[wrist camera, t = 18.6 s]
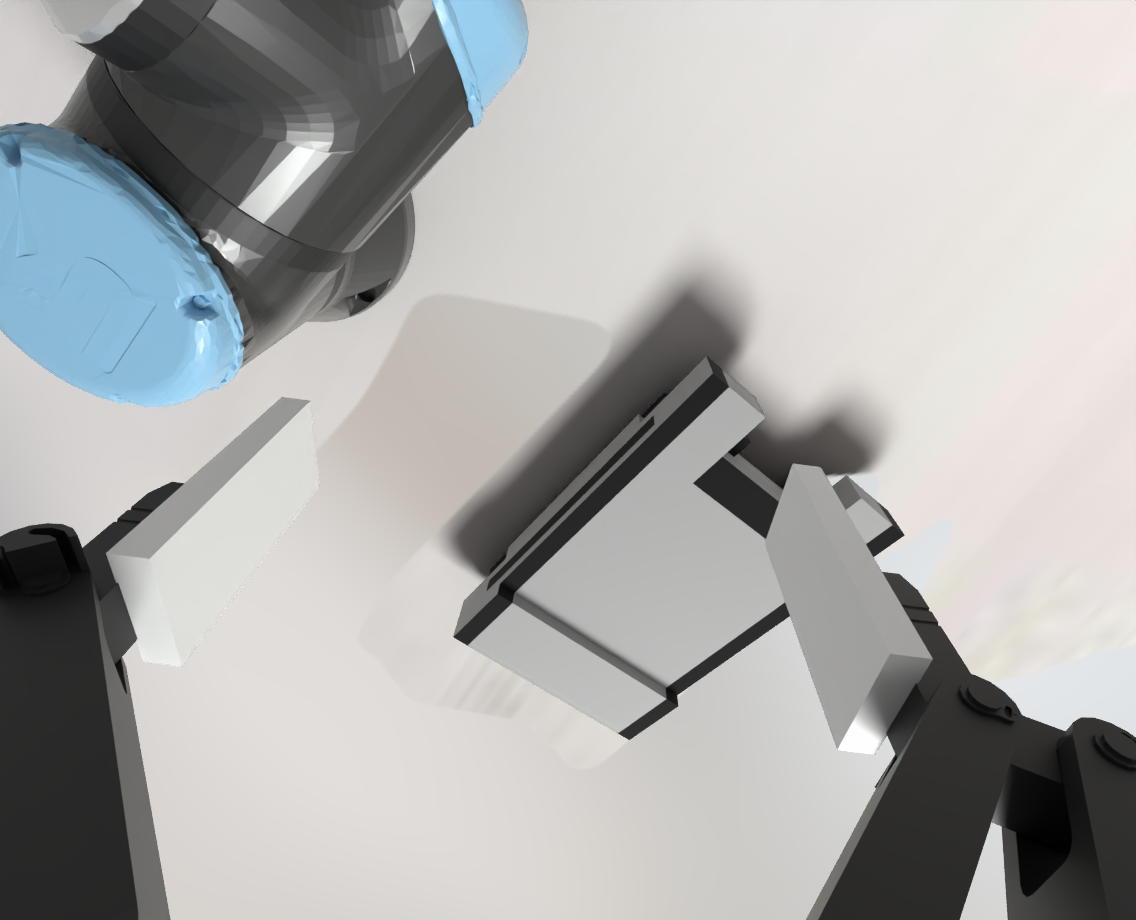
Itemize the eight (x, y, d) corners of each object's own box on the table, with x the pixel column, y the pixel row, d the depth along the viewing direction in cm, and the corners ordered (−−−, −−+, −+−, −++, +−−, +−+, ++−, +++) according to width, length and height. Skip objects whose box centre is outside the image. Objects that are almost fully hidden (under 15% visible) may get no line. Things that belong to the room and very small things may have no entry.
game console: (871, 486, 53) (911, 545, 46) (627, 672, 67) (629, 740, 60) (699, 339, 48) (715, 380, 40) (471, 575, 61) (453, 637, 54)
